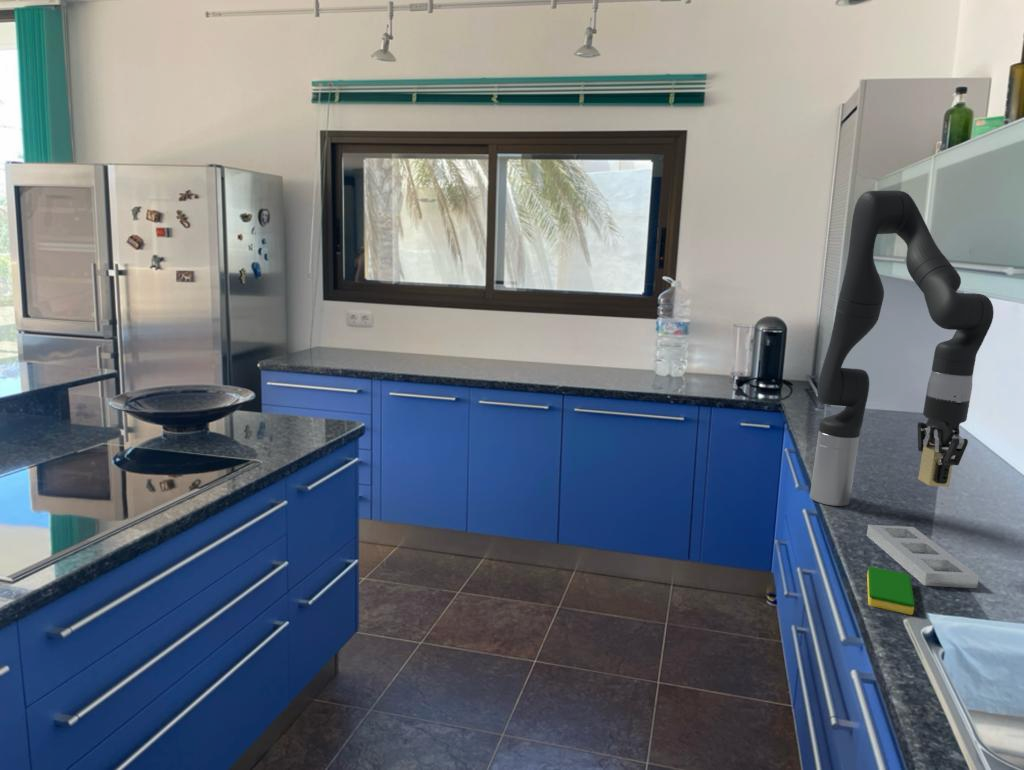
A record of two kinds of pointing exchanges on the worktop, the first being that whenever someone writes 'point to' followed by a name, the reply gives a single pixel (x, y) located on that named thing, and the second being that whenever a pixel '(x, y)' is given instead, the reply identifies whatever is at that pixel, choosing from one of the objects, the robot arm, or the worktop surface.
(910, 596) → the dish sponge
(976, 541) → the worktop surface
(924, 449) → the brass peg
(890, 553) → the rail plate
